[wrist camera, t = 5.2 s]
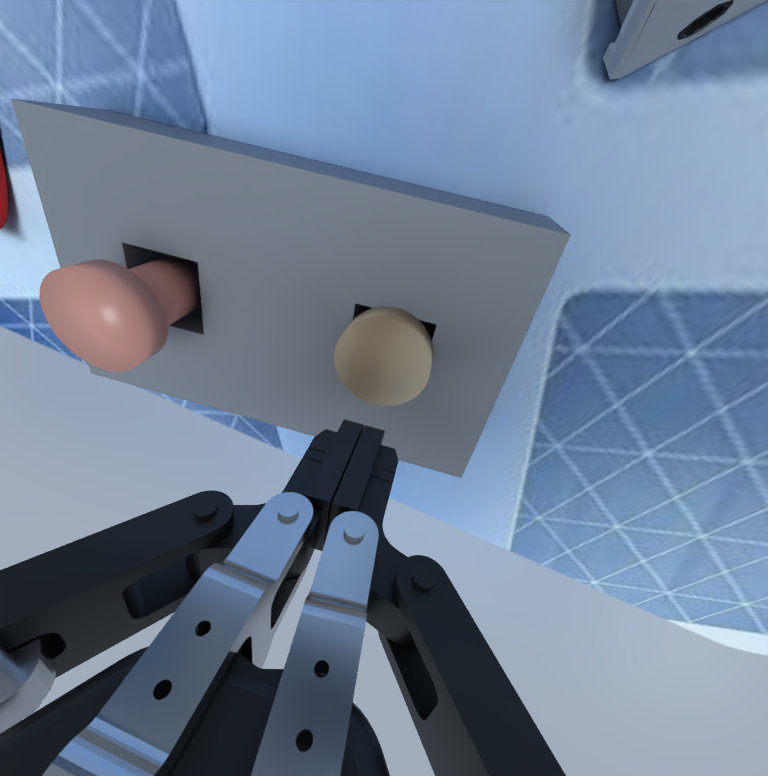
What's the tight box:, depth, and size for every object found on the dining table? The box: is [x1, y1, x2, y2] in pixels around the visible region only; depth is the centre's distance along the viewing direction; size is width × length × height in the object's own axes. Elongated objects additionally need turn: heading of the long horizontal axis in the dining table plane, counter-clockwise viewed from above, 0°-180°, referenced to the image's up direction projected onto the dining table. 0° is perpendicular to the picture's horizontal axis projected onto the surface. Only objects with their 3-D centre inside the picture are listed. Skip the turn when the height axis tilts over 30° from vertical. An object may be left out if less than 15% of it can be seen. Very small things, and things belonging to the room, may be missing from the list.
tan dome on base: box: [334, 307, 433, 406], centre depth 20 cm, size 5×5×6 cm
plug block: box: [12, 99, 570, 477], centre depth 21 cm, size 24×14×5 cm, turn 79°
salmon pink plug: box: [40, 255, 202, 372], centre depth 18 cm, size 5×5×6 cm
